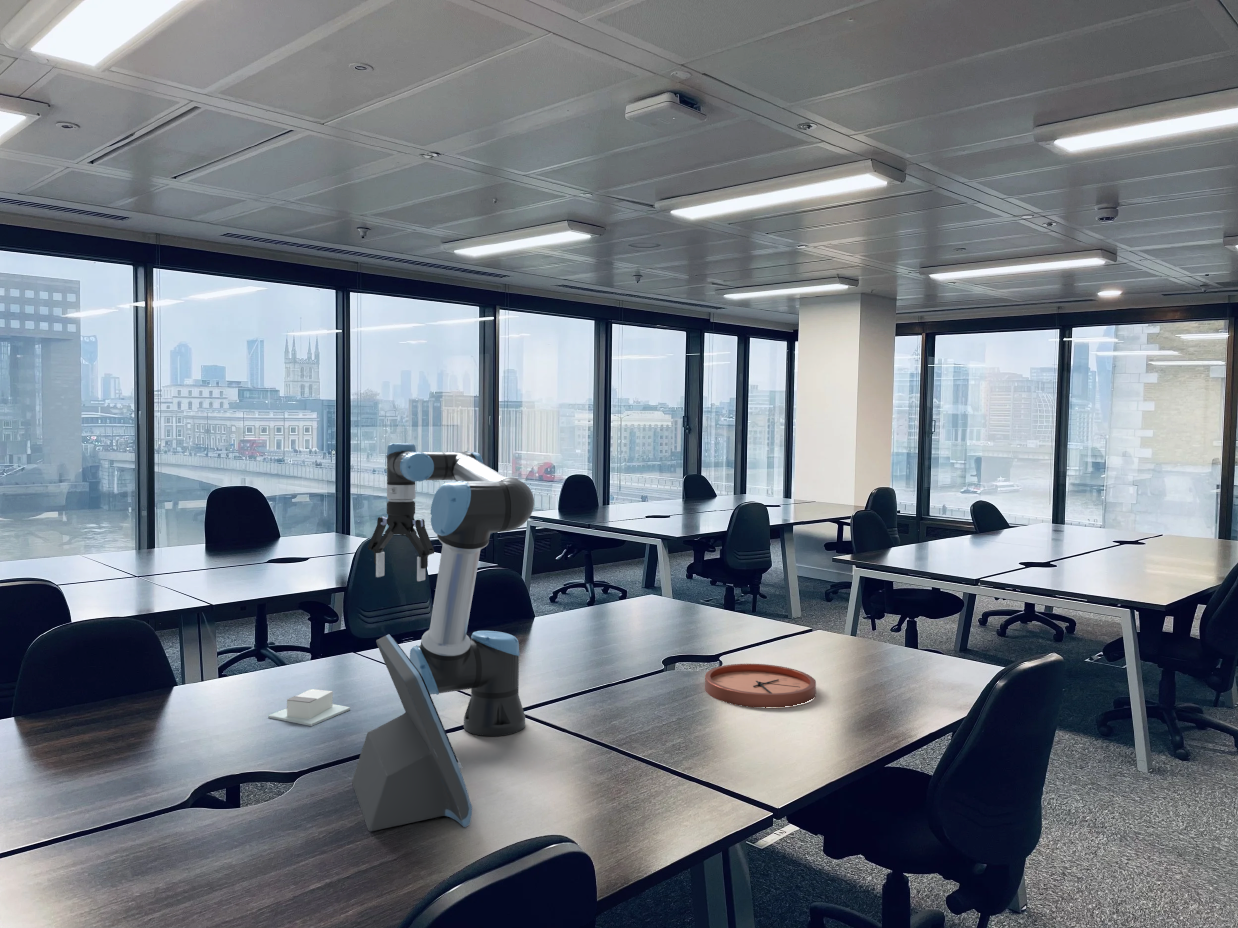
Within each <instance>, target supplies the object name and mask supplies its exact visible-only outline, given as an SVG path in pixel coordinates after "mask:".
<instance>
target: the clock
mask: <svg viewBox="0 0 1238 928" xmlns="http://www.w3.org/2000/svg"><path fill="white" fill-rule="evenodd" d="M816 688H817V682H816V680H815V678H814V677H812V676H811V675H810V674H808V673H806V672H804V671H801V670H797V669H795V668H791V667H787V666H782V665H781V666H780V665H773V664H765V663H734V664H726V665H721V666H716V667H714V668H712V669H710V670H708V671H706V672H705V675H704V690H705V691H704V692H705V693H706V694H708V696H710V697H712V698H713V699H716V700H717V701H718V700H719V701H721V702H723V701H724V703H726V702H727V704H730V703H731V704H730V705H734V704H736V705H735V706H739V705H742V707H746V706H748V707H747V708H754V707H765V708H764V709H767V708H766V707H785V706H793V705H797V704H801V703H805V702H807V701H809V700H811V699H813V698H814V697H815V698H816V696H815V694H817V693H816V692H817V689H816Z"/></svg>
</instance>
